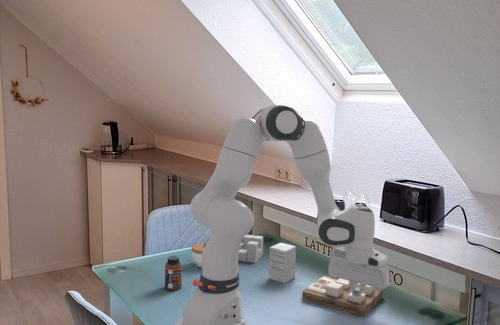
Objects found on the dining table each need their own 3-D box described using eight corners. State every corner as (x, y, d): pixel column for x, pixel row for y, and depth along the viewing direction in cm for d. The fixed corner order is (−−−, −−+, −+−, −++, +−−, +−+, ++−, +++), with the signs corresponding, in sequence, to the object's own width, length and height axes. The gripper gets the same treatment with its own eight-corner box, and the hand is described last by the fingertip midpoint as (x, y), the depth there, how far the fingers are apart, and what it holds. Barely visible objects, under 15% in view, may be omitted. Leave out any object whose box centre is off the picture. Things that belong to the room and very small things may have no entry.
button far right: (369, 296, 165) (369, 287, 165) (356, 292, 168) (357, 283, 167) (373, 291, 169) (374, 282, 168) (361, 288, 171) (362, 279, 171)
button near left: (337, 298, 163) (338, 289, 163) (325, 294, 166) (325, 285, 165) (342, 293, 167) (343, 284, 166) (331, 290, 169) (331, 281, 169)
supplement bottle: (173, 292, 171) (172, 261, 169) (161, 288, 175) (161, 257, 173) (185, 287, 176) (185, 257, 174) (173, 283, 179) (173, 253, 178)
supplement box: (279, 273, 191) (280, 242, 189) (295, 278, 186) (296, 246, 184) (268, 278, 185) (269, 246, 183) (284, 283, 181) (285, 251, 179)
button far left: (346, 293, 170) (347, 284, 169) (335, 290, 172) (335, 281, 172) (351, 289, 174) (352, 280, 173) (340, 286, 176) (340, 277, 175)
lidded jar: (206, 258, 205) (206, 237, 204) (223, 265, 198) (223, 243, 196) (186, 265, 198) (186, 242, 196) (203, 272, 190) (203, 249, 189)
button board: (363, 317, 156) (364, 307, 155) (302, 299, 168) (302, 290, 167) (382, 297, 170) (383, 288, 170) (324, 282, 182) (325, 274, 182)
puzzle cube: (236, 250, 216) (236, 233, 215) (262, 253, 213) (263, 236, 212) (228, 259, 205) (228, 241, 204) (255, 263, 202) (256, 244, 200)
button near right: (360, 307, 159) (360, 298, 158) (347, 304, 161) (348, 295, 161) (365, 303, 163) (365, 293, 162) (352, 299, 165) (353, 290, 164)
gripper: (325, 250, 162) (324, 289, 165) (386, 263, 151) (383, 305, 153) (333, 245, 168) (331, 283, 170) (392, 258, 156) (390, 298, 159)
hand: (356, 294), depth 161 cm, fingers closed, pressing on button near right
